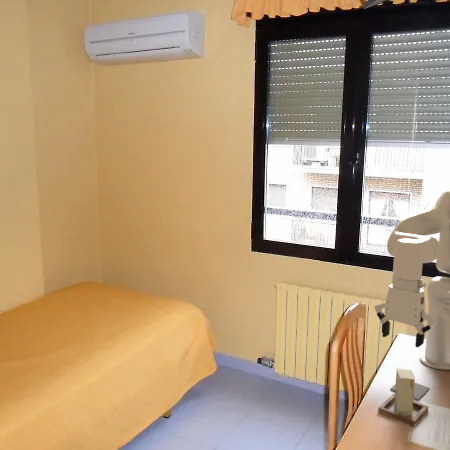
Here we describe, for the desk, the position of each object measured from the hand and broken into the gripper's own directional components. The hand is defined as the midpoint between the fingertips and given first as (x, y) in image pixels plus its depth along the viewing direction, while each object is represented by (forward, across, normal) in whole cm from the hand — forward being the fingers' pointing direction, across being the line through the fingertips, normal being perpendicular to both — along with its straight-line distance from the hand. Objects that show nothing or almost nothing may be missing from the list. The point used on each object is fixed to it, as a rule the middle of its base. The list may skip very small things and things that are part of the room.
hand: (401, 340), depth 136 cm
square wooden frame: (+23, -1, -3) cm, 23 cm away
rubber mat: (+23, +3, -16) cm, 28 cm away
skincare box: (+23, -1, -3) cm, 23 cm away
